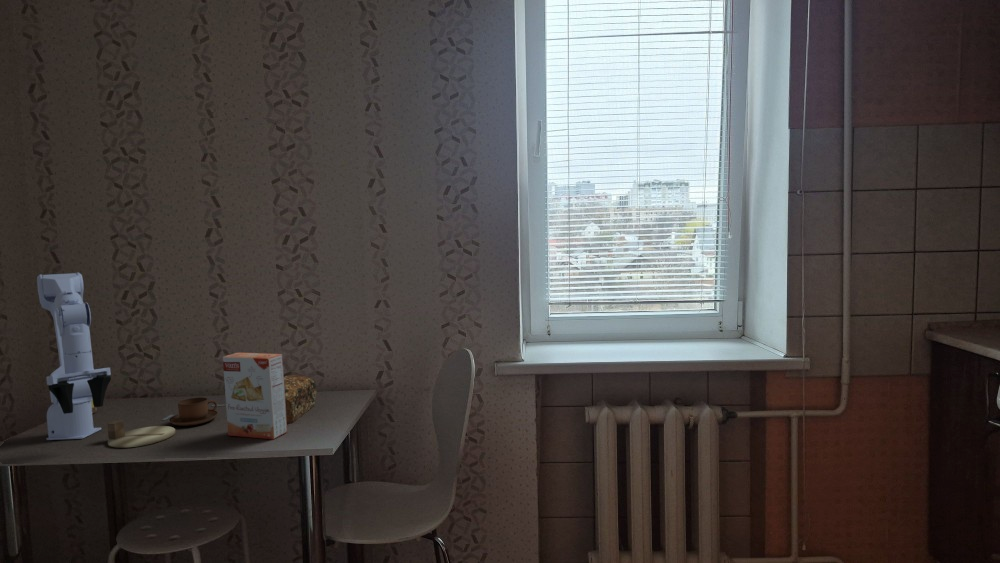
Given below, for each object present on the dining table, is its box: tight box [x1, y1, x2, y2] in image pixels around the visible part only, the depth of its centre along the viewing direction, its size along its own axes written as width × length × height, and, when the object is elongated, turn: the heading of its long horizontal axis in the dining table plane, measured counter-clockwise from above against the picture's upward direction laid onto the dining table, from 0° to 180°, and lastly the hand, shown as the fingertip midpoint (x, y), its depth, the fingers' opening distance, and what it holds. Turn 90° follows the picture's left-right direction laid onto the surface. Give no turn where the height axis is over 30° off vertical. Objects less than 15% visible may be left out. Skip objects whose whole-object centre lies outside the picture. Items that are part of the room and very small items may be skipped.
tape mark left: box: [161, 414, 175, 421], centre depth 174 cm, size 1×5×1 cm, turn 1°
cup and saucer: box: [169, 397, 219, 427], centre depth 169 cm, size 12×12×6 cm
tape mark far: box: [211, 404, 226, 407], centre depth 185 cm, size 5×1×1 cm, turn 91°
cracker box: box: [222, 352, 288, 440], centre depth 154 cm, size 14×6×21 cm, turn 73°
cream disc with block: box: [106, 419, 176, 449], centre depth 156 cm, size 15×15×5 cm
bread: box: [284, 374, 317, 424], centre depth 173 cm, size 19×11×10 cm, turn 176°
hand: (83, 409), depth 145 cm, fingers open, 7 cm apart
